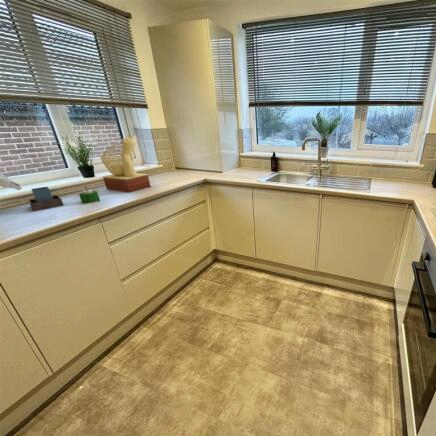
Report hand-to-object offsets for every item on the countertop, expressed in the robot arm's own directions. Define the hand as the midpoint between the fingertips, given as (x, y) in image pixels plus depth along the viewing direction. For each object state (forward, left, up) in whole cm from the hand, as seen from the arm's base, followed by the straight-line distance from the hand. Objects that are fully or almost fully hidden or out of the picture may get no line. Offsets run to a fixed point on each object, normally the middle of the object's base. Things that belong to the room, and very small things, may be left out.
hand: (19, 187), depth 124 cm
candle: (+26, -6, -13) cm, 30 cm away
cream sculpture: (+48, +15, -13) cm, 52 cm away
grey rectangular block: (+7, 0, -12) cm, 14 cm away
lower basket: (+7, 0, -12) cm, 14 cm away
